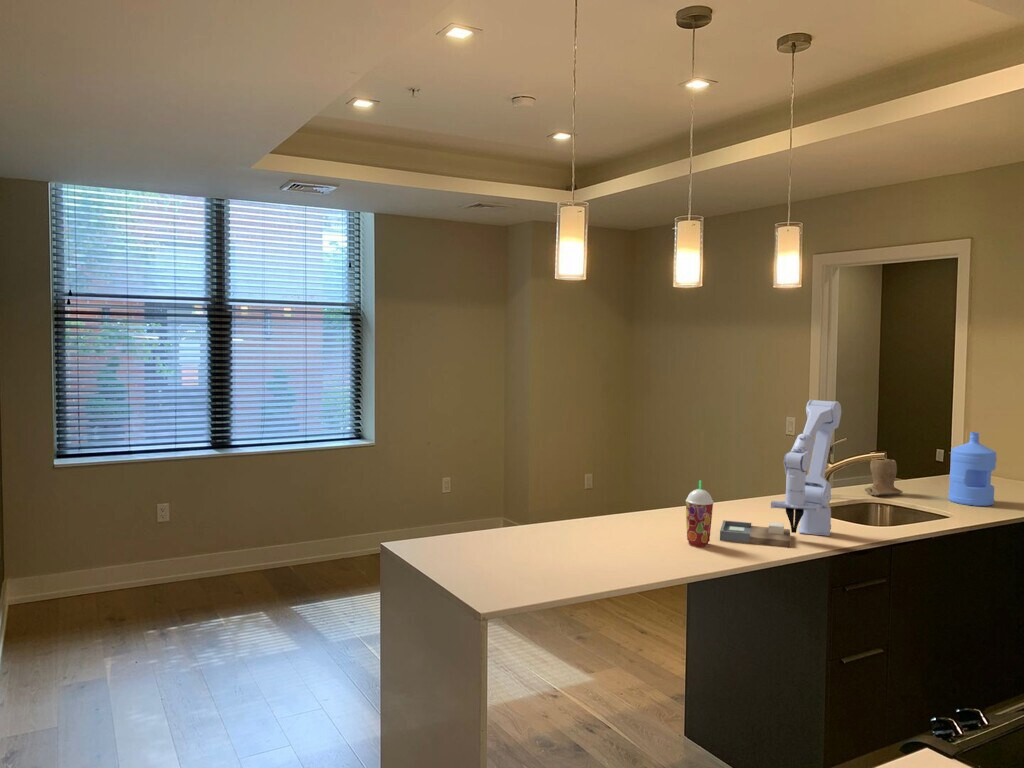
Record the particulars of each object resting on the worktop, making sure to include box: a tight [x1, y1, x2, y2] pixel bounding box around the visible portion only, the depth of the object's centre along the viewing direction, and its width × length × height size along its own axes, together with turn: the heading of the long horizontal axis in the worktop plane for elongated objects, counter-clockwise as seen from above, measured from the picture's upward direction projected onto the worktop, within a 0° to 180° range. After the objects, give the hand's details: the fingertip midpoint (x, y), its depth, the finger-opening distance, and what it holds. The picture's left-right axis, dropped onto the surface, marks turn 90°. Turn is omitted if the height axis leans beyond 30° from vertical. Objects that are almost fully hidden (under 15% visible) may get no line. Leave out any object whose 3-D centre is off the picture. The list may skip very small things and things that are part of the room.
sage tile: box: [729, 526, 744, 533], centre depth 247 cm, size 4×4×2 cm
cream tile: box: [768, 522, 785, 535], centre depth 248 cm, size 4×4×2 cm
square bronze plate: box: [749, 525, 792, 548], centre depth 247 cm, size 12×15×2 cm
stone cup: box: [864, 458, 903, 497], centre depth 320 cm, size 15×12×15 cm
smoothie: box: [685, 479, 714, 548], centre depth 239 cm, size 8×8×20 cm
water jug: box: [948, 431, 997, 507], centre depth 307 cm, size 16×16×28 cm
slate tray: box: [719, 520, 752, 544], centre depth 250 cm, size 9×15×3 cm, turn 161°
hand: (793, 532), depth 246 cm, fingers closed
